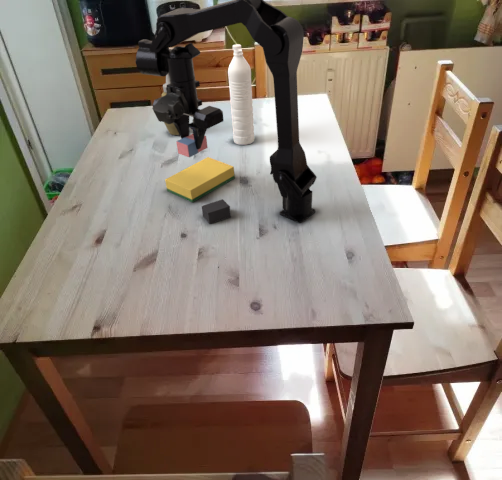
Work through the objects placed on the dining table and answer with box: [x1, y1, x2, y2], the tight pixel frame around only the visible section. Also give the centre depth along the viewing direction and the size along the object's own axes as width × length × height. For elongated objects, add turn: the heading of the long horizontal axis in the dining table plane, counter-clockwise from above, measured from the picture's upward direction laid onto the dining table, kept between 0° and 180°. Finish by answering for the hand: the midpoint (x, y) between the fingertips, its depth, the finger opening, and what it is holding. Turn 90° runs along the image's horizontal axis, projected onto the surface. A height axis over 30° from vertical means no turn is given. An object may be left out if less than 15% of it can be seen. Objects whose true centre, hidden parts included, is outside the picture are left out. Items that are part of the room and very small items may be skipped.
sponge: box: [164, 156, 236, 203], centre depth 125 cm, size 16×10×3 cm, turn 138°
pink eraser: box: [175, 133, 209, 158], centre depth 114 cm, size 6×4×3 cm, turn 139°
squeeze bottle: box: [161, 73, 180, 136], centre depth 145 cm, size 8×8×18 cm
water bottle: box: [227, 43, 255, 146], centre depth 135 cm, size 9×6×25 cm
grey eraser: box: [201, 199, 232, 225], centre depth 113 cm, size 6×4×3 cm
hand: (192, 146), depth 115 cm, fingers closed on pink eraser, 4 cm apart
